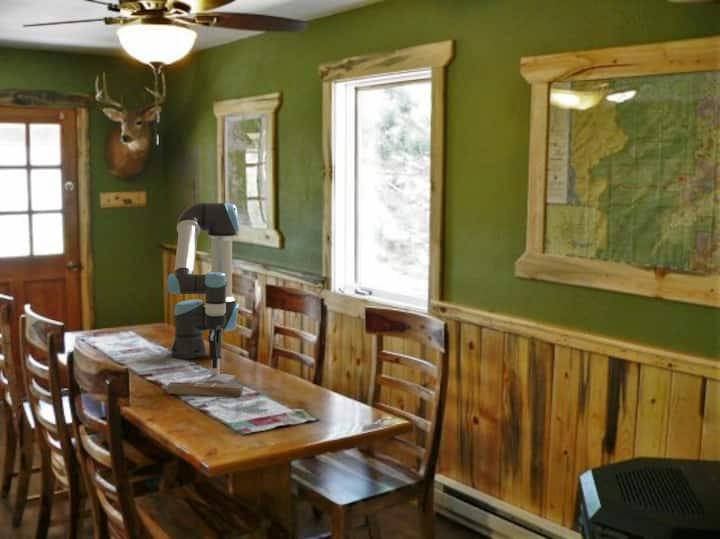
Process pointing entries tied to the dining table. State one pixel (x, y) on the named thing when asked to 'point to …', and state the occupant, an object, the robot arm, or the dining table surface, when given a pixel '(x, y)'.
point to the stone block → (221, 379)
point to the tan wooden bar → (204, 389)
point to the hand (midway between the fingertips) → (215, 375)
